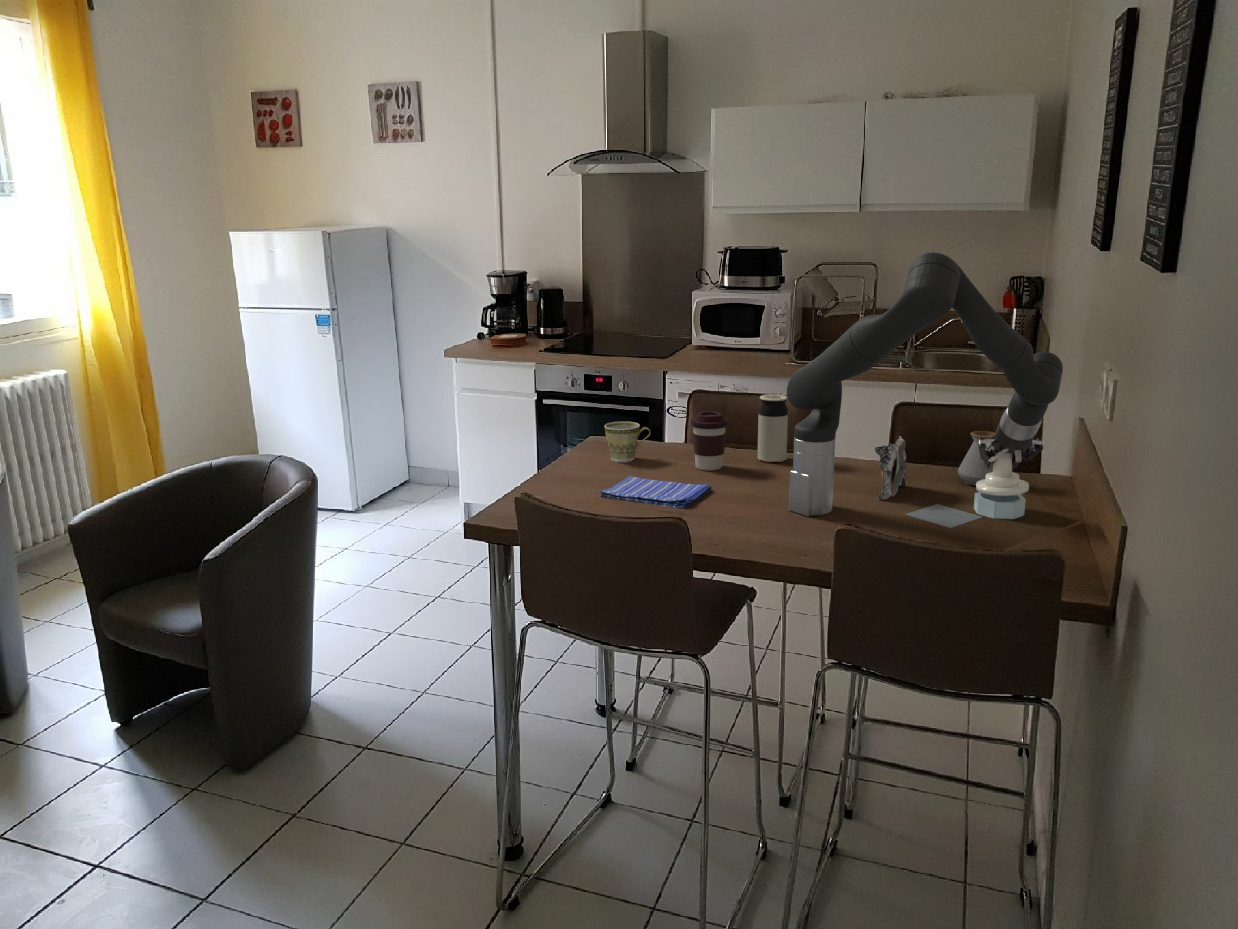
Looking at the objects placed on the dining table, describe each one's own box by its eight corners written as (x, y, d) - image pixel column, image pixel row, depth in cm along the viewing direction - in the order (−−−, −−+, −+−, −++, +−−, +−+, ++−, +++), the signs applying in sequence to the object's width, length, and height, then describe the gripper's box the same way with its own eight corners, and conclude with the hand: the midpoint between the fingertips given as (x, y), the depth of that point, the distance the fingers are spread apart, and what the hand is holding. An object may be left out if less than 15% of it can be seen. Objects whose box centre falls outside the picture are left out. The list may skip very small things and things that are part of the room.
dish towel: (687, 511, 215) (687, 500, 214) (598, 499, 226) (597, 488, 225) (713, 492, 230) (713, 481, 229) (629, 481, 240) (628, 471, 240)
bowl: (1005, 523, 201) (1007, 505, 200) (965, 512, 209) (967, 495, 208) (1031, 514, 207) (1033, 497, 206) (991, 503, 215) (992, 487, 214)
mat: (950, 529, 198) (950, 527, 198) (904, 515, 208) (904, 514, 207) (982, 518, 205) (983, 516, 205) (936, 505, 214) (937, 504, 214)
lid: (1012, 498, 199) (1012, 452, 197) (966, 490, 208) (966, 447, 206) (1038, 487, 206) (1039, 443, 203) (993, 480, 214) (993, 437, 212)
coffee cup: (690, 463, 255) (690, 410, 251) (725, 462, 255) (726, 409, 251) (691, 472, 245) (691, 417, 241) (728, 472, 245) (729, 417, 241)
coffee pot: (958, 475, 239) (963, 419, 235) (1006, 479, 234) (1012, 422, 230) (951, 498, 220) (956, 437, 216) (1002, 503, 215) (1008, 441, 211)
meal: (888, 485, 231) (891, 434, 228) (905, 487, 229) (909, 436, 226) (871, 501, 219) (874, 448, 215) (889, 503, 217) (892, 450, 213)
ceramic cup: (604, 464, 255) (603, 429, 253) (606, 455, 265) (605, 421, 262) (650, 464, 255) (650, 428, 252) (650, 454, 264) (650, 421, 262)
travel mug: (764, 464, 252) (765, 400, 247) (753, 457, 259) (754, 395, 255) (791, 462, 254) (793, 398, 249) (779, 455, 261) (781, 393, 257)
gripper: (985, 438, 192) (968, 479, 207) (1057, 440, 190) (1034, 481, 205) (982, 409, 196) (965, 451, 210) (1052, 410, 194) (1030, 452, 208)
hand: (999, 465), depth 207 cm, fingers closed on lid, 4 cm apart
